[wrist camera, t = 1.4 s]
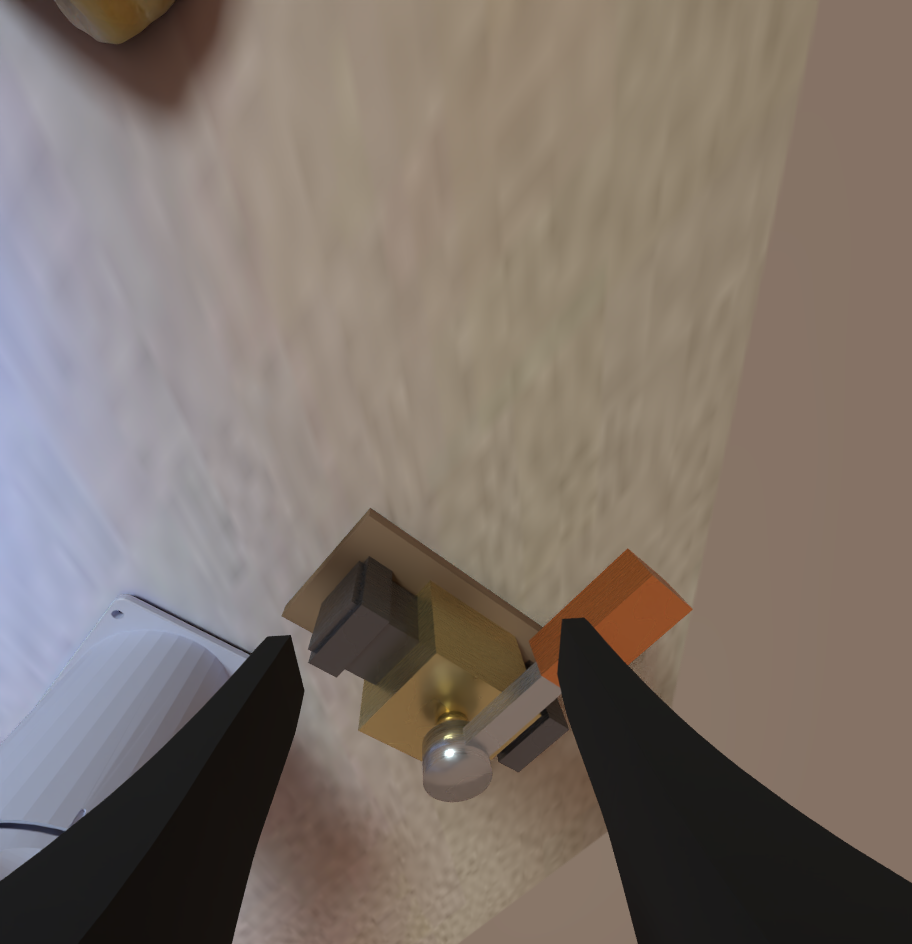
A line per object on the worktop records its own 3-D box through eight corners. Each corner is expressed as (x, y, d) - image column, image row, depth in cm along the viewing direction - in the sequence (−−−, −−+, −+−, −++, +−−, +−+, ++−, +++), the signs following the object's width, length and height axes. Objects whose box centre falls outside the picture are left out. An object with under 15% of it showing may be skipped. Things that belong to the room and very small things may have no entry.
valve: (499, 718, 25) (521, 822, 20) (310, 612, 21) (280, 708, 16) (558, 665, 24) (598, 759, 19) (373, 542, 20) (361, 620, 15)
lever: (456, 771, 18) (461, 812, 16) (408, 747, 17) (408, 789, 16) (668, 582, 15) (696, 612, 14) (624, 545, 15) (648, 571, 13)
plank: (496, 723, 26) (499, 735, 25) (286, 605, 21) (281, 615, 21) (577, 651, 25) (582, 662, 24) (370, 508, 20) (368, 515, 19)
